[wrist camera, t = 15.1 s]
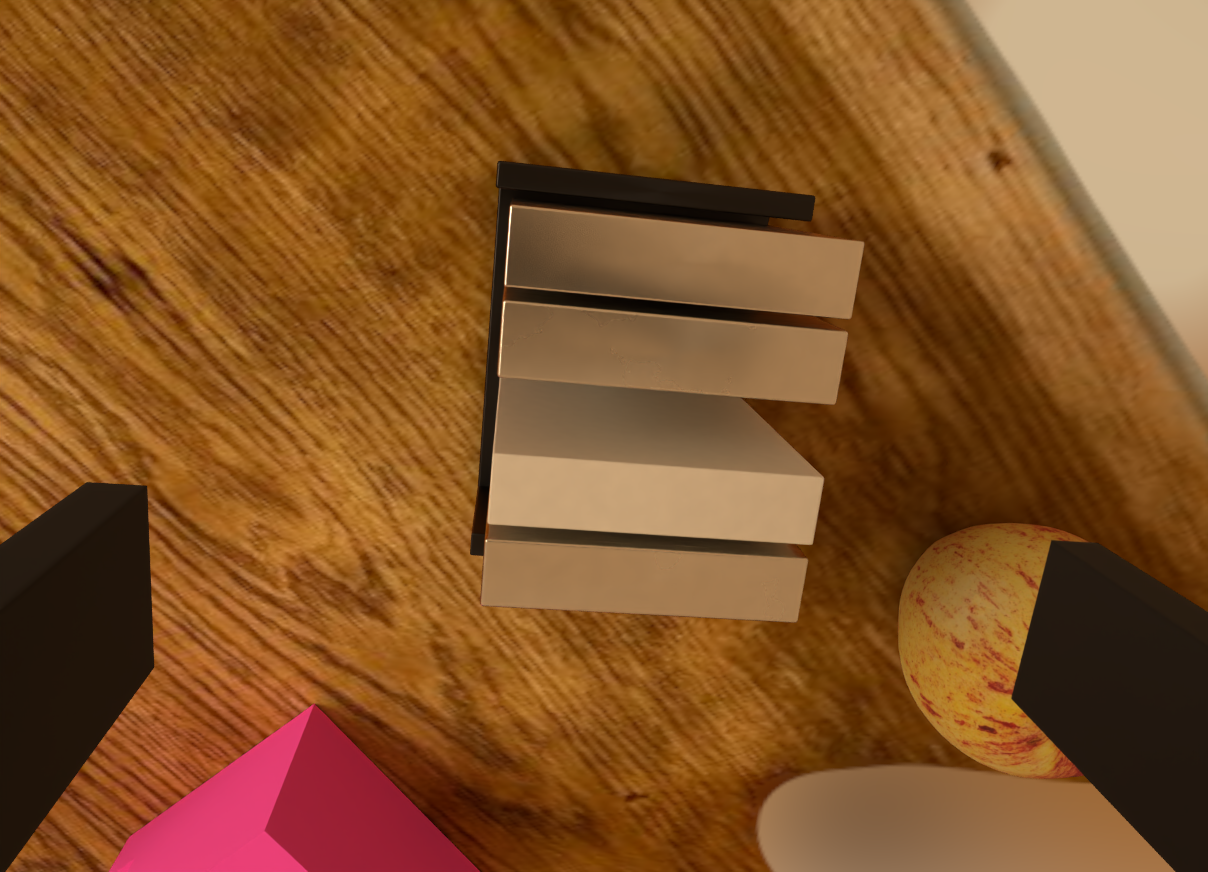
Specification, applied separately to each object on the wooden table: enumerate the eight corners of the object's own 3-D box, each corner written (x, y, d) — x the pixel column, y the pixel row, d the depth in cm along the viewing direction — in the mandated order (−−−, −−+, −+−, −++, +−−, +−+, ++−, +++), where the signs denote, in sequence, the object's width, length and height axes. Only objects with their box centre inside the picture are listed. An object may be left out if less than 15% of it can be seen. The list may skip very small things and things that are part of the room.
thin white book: (500, 369, 34) (492, 452, 23) (732, 388, 35) (825, 477, 24) (496, 420, 34) (487, 525, 24) (725, 438, 35) (813, 545, 25)
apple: (965, 711, 41) (1101, 873, 31) (815, 614, 39) (912, 756, 29) (1098, 557, 39) (1285, 678, 30) (950, 447, 37) (1100, 539, 28)
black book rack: (501, 164, 33) (492, 154, 21) (767, 193, 34) (892, 199, 22) (477, 497, 36) (458, 642, 25) (720, 514, 37) (808, 659, 26)
